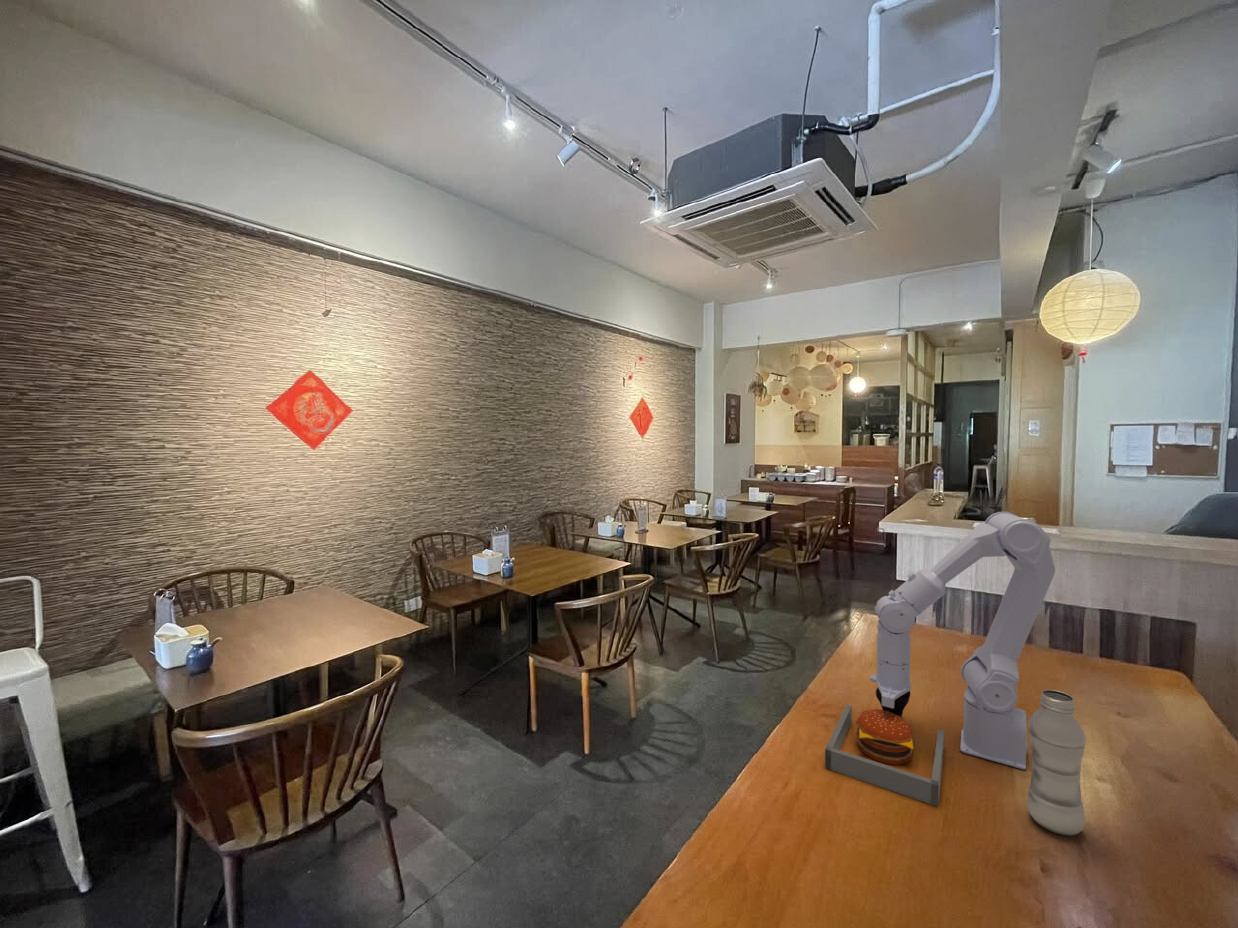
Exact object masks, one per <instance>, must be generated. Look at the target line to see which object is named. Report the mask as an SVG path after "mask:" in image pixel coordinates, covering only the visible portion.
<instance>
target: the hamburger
mask: <svg viewBox="0 0 1238 928" xmlns="http://www.w3.org/2000/svg"><path fill="white" fill-rule="evenodd" d="M858 714H859V715H858V717H857V720H856V721H855V722H856V725H858V727H857V733H858V738H857V744H858V747H859V749H860V751H862V752H863V754H864V755H865V756H867V757H870V758H871V759H873V760H874V761H876V762H879V763H882V764H889V765H903V764H906V763H908V762H910V761H911V760H912V758H913V751H914V744H913V743H914V741H913V735H914V733H915V731H914V728H913V727H912V726H911V725H910V723H909V722H907V720H906V719H905V718H904V717H903V716H902V717H900V716H898V715H896V714H894V713H892V712H890V711H885V710H882V709H878V708H877V709H876V708H875V709H874V708H873V709H869V710H864V711H862V712H861V713H858Z"/></svg>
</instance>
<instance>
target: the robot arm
mask: <svg viewBox="0 0 1238 928" xmlns="http://www.w3.org/2000/svg"><path fill="white" fill-rule="evenodd" d="M1051 541H1052V540H1051V537H1050V536H1049V535H1048V534H1047V533H1046V532H1045V530H1044V529H1043V528H1042V527H1041V526H1040V525H1039V524H1038V523H1037V522H1035V521H1033V520H1031V519H1025V518H1023V517H1020V516H1019V515H1016V514H1014V513H1013V512H1009V511H998V512H995V513H992V514H991V515H989V516H988V517H987V518H986V520H985V521H982V522H981V523H979V524H977V525H976V526H975V527H974V528H973V529H972V530H971V532H970V533H968V534H967V535H966V537H964V538H963V539H962V540H961V541H960V542H959V543H958V544H957V545H956V546H955V547H954V548H952V549H951V551H949V552H948V553H947V554H946V555H945V556H944V557H943V558H941V559H940V561H939V562H938V563H936V564H935V565H934V566H933V567H932V568H931V569H919V570H917V572H913V571H911V572H909V573H908V574H907V575H906V577H907V579H906V581H905V582H903V583H902V584H900V585H899V586H898V587H897V588H896V589H895V590H893V589H891V590H890V591H888V595H885V596H882V597H881V598H879V599H878V600H877V602H876V604H875V606H874V609H873V610H874V612H875V615H876V616H877V617H878V620H877V634H876V674H871V675H870V676H869V680H870V681H871V682H872V683H875V684H876V686H877V688H876V690H875V696H876V698H877V700H878V702H879V703H880V707H881V710H885V711H890V712H892V713H894V714H896V715H898V716H900V717H902V718H903V712H904V709H905V708H906V706H907V705H908V703H909V701H910V697H911V690H912V683H911V638H910V634H911V633H910V631H911V630H912V629H913V627H914V625H915V623H916V622H915V621H916V618H917V617H918V616H920V615H921V614H922V613H923V612H924V611H926V610H927V609H928V608H929V607H931V606H932V605H933V604H934V603H936V602H937V601H938V600H939V599H940V598H942V597H944V595H945V594H946V584H947V583H949V582H950V581H951V580H953V579H954V578H955V577H957V576H959V575H960V574H961V573H962V572H963V571H966V570H967V569H968V568H969V567H971V566H972V565H973V564H975V563H976V562H978V561H979V560H981V559H983V558H984V557H985V558H991V557H1007V559H1008V560H1009V562H1010V563H1011V565H1013V568H1014V570H1013V573H1012V575H1011V577H1010V580H1009V582H1008V585H1007V587H1006V589H1005V592H1004V594H1003V596H1002V599H1001V601H1000V604H999V606H998V609H997V612H996V614H995V616H994V618H993V621H992V623H991V625H990V629H989V630H988V633H987V636H986V638H985V640H984V642H983V644H982V645H981V646H979V647H977V648H975V649H974V652H973V654H972V656H970V657H969V658H968V659H966V660H965V661H964V662H963V664H962V665H961V668H960V674H961V677H962V680H963V681H964V682H965V684H966V685H967V688H966V689H965V691H964V694H963V729H961V730H960V732H961V733H960V749H959V750H960V752H961V753H963V754H967V755H970V756H974V757H978V758H981V759H984V760H988V761H992V762H995V763H999V764H1002V765H1006V766H1009V767H1014V768H1018V769H1020V770H1026V769H1027V753H1028V751H1029V750H1028V749H1029V747H1028V745H1029V744H1028V742H1027V736H1028V735H1027V733H1028V732H1027V729H1028V726H1027V714H1026V713H1027V712H1026V710H1024V709H1022V708H1019V707H1016V705H1017V702H1018V700H1019V699H1018V698H1019V695H1018V688H1017V687H1018V683H1019V681H1020V675H1019V669H1018V668H1019V666H1018V661H1019V658H1020V656H1021V653H1022V651H1023V649H1024V646H1025V644H1026V643H1027V640H1028V637H1029V635H1030V633H1031V630H1032V629H1033V626H1034V623H1035V620H1036V619H1037V617H1038V615H1039V612H1040V609H1041V606H1042V605H1043V602H1044V600H1045V598H1046V595H1047V592H1048V590H1049V588H1050V586H1051V583H1052V581H1053V579H1054V576H1055V573H1056V567H1055V563H1054V559H1053V555H1052V550H1051V547H1050V546H1051Z"/></svg>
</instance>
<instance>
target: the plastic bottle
mask: <svg viewBox="0 0 1238 928" xmlns="http://www.w3.org/2000/svg"><path fill="white" fill-rule="evenodd" d="M1040 696H1041V697H1040V700H1039V704H1040V706H1041V707H1040V708H1039V709H1037V710H1036V711H1035V712H1034V713H1033V714H1031V715H1030V717H1029V719H1028V721H1027V729H1028V735H1029V739H1030V746H1031V748H1030V749H1031V758H1032V759H1031V763H1032V764H1031V765H1032V769H1031V778H1030V785H1029V787H1028V791H1027V793H1026V794H1027V795H1026V804H1027V809H1028V812H1029V815H1030V816H1031V817H1032V818H1033V820H1034V821H1035V822H1036V823H1037V824H1038V825H1040V826H1041V827H1043V828H1045V829H1046V830H1048V831H1050V832H1053V833H1056V834H1059V835H1063V836H1070V837H1071V836H1075V835H1078V834H1079V833H1080V832H1082V831H1083V830H1084V826H1085V824H1086V823H1085V822H1086V816H1085V810H1084V805H1083V801H1082V793H1081V792H1082V791H1081V790H1082V789H1081V781H1080V780H1081V768H1082V761H1083V756H1084V753H1085V749H1086V748H1085V747H1086V742H1087V741H1086V740H1087V737H1086V734H1085V730H1084V729H1083V727H1082V726H1081V724H1080V723H1079V721H1078V720H1077V719H1076V717H1075V716H1074V715H1073V714H1075V711H1076V708H1075V698H1074V697H1073V696H1072V695H1070V694H1068V693H1066V692H1063V691H1059V690H1056V689H1043V690H1041V693H1040Z"/></svg>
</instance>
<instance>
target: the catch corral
mask: <svg viewBox="0 0 1238 928" xmlns="http://www.w3.org/2000/svg"><path fill="white" fill-rule="evenodd" d="M852 723H853V706H852V705H851V704H848V703H846V704H845V707H844V709H843V711H842V713H841V715H840V717H839V719H838V721H837V724H836V726H835V727H834V730H833V731H832V734H831V736H830V738H829V740H828V742H827V744H826V747H825V748H824V753H825V754H824V763H825V764H824V766H825V767H824V768H825V769H827V770H828V771H829V770H830V771H833V772H834V773H835V772H836V773H839V774H842V775H844V776H847V777H851V778H853V779H856V780H858V781H862V782H865V783H867V784H871V785H873V786H876V787H879V788H883V789H886V790H888V791H891V792H895V793H897V794H900V795H903V796H905V797H908V798H911V799H915V800H918V801H920V802H923V803H927V804H929V805H932V806H934V807H939V802H940V791H941V782H942V773H943V765H944V763H943V762H944V756H945V753H944V752H945V729H941V728H937V735H936V743H935V751H934V758H933V765H932V773H931V778H929V777H926V776H925V777H924V776H922V775H918V774H915V773H913V772H912V773H911V772H909V771H906V770H902V769H899V768H896V767H893V766H891V765H887V764H885V763H882V762H879V761H876V760H872V759H868V758H865V757H863V756H859V755H856V754H852V753H850V752H846V751H843V750H841V747H842V745H843V744H844V742H845V739H846V736H847V734H848V732H849V729H850V726H851V725H852Z"/></svg>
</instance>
